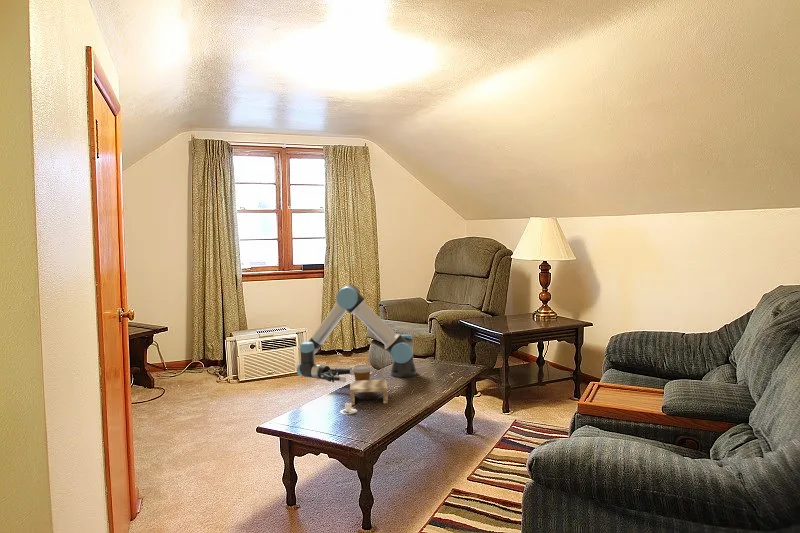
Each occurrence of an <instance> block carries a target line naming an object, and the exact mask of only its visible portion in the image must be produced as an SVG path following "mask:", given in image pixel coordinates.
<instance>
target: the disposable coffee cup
mask: <svg viewBox="0 0 800 533" xmlns="http://www.w3.org/2000/svg"><path fill="white" fill-rule="evenodd" d="M352 370H353V371H354V375H353V376H354V381H360V380H371V379H370V378H371V377H370V376H371V371H372V368H371V366H370V365H368V364H367V365H366V364H360V365H359V364H358V365H355V366H354V367H353V368H352Z"/></svg>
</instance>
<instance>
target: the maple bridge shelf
mask: <svg viewBox="0 0 800 533" xmlns="http://www.w3.org/2000/svg"><path fill="white" fill-rule="evenodd" d="M349 382H350V383H349V386H350V387H349V395H350V396H349V397H350V398H349V399H350V400H349V401H350V402H349V403H351V404H352V405H351V406H355V403H356V393H375V392H382V394H381V395H382V402H383V404H388V403H389V399H388V398H389V396H388V385H387V384H388V383H387V379H386V378H383V379H369V380H360V381H355V380H350V381H349Z"/></svg>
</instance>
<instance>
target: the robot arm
mask: <svg viewBox="0 0 800 533" xmlns="http://www.w3.org/2000/svg"><path fill="white" fill-rule="evenodd" d="M335 300H336V303H335V304H334V306H333V307H332V308H331V310H330V311H329V313H327V316H326V317H325V318H324V320H323V321H322V322H321V323H320V325H319V326H318V328H316V331H315V332H314V333H313V335H312V336H311V338H310V339H309V340H308V341H303V342H300V347H299V351H300V363H298V365H297V366H296V373H297V375H298V376H300V377H304V378H311V379H316V380H319V379H320V380H325V381H328V382H332V383H335V382H341V383H346V381H347V380H346V379H347V378H346V376H344V375H352V376H354V371H353V368H352V367H349V368H347V367H346V368H344V367H343V368H338V367H335V368H331V367H330V366H329V365H323V364H318V363H317V364H315V355H316V354H317V353H318V352H319V350H320V349H321V347H322V346H323V344H324V343H325V341H326V340H327V339H328V337H329V336H330V335H331V334H332V332H333V331H334V329H335V328H336V327H337V325H338V323H339V322H340V321H341V319H342V318H343V317H344V316H345V314H346V313H347V312H348V314H350V315H354V316H356V318H358V320H360V321H361V322H362V324H363V325H364V326H366V328H367V329H368V330H369V331H370V332H371V333H373V334H374V335H375V337H376V338H377V339H379V340H380V341H381V343H382V344H383V345H384V349H385V351H386V352H387V353H388V354H389V355H390V357H391V359H392V360H393V361H392V364H391V368H390V376H393V377H395V378H396V377H397V378H409V377H414V376H416V375H417V374H418V373H417V368H416V364H415V362H414V339H413V334H400V333H396V332H394V331H393V329H392V328H390V327H389V325H387V323H385V321H384V320H383V319H382V318H381V317H379V315H378V314H377V313H375V311H374V310H373V309H372V308H371V307H370V306H369V305H368V304H367V303H366V298H365V297H364V296H362V293H361V292H360V289H359V288H358V287H357V286H355V285H353V284H347V285H344V286H342V287H341V288H340V289H339V290H338V291H337V293H336V299H335ZM342 375H343V376H342Z"/></svg>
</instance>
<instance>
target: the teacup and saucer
mask: <svg viewBox="0 0 800 533" xmlns="http://www.w3.org/2000/svg"><path fill="white" fill-rule="evenodd" d="M352 406H353V405H352V404H351V403H350V402H345V403H344V409H341V410H339V413H340V414H343V415H352V414H356V413H357V412H358V410H357V409H356V408H352ZM344 411H345V412H344Z"/></svg>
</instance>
